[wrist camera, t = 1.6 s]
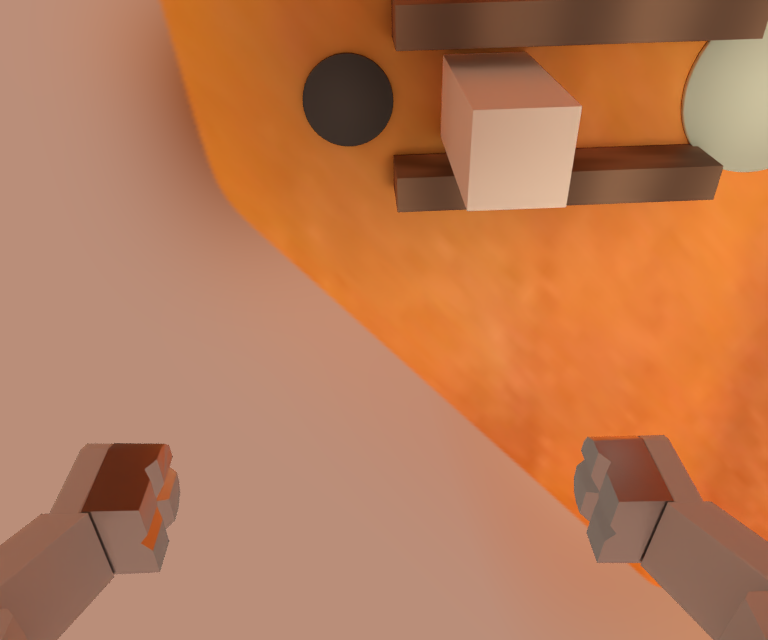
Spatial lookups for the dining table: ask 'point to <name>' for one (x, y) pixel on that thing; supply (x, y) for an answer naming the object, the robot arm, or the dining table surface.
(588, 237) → the dining table surface
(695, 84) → the mat
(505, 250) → the dining table surface
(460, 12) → the track
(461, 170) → the block
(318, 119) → the pit disc
